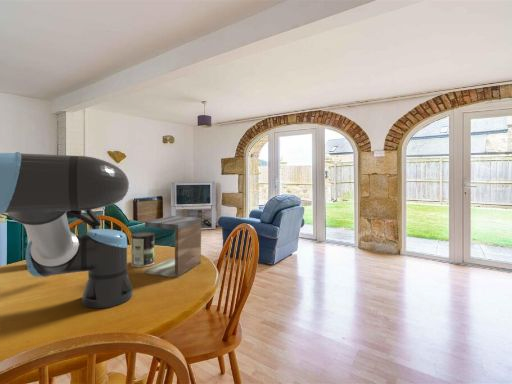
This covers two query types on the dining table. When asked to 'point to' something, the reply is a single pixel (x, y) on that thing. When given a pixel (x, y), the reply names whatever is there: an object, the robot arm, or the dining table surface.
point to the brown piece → (179, 245)
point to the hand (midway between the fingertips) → (72, 239)
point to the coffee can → (142, 249)
